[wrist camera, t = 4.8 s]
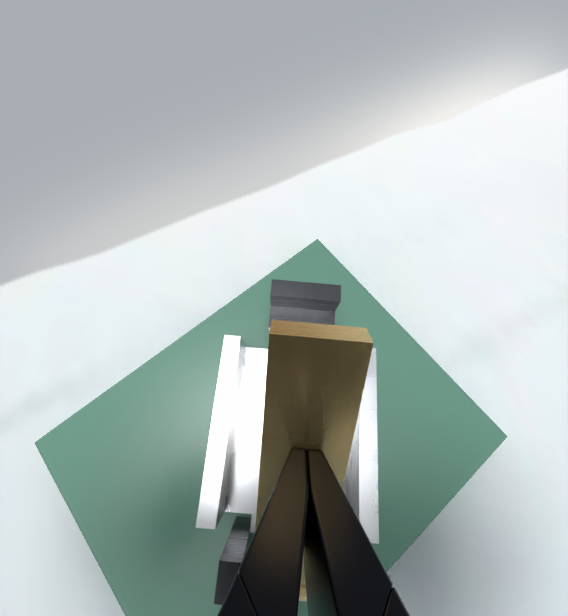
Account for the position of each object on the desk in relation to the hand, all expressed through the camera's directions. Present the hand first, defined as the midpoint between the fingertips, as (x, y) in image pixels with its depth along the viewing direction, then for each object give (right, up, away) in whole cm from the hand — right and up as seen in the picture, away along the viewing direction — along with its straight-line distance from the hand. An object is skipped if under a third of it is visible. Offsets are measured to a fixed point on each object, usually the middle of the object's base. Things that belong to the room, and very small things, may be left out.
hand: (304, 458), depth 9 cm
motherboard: (-1, -3, +9) cm, 10 cm away
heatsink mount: (0, -2, +9) cm, 9 cm away
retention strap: (0, -1, +1) cm, 2 cm away
